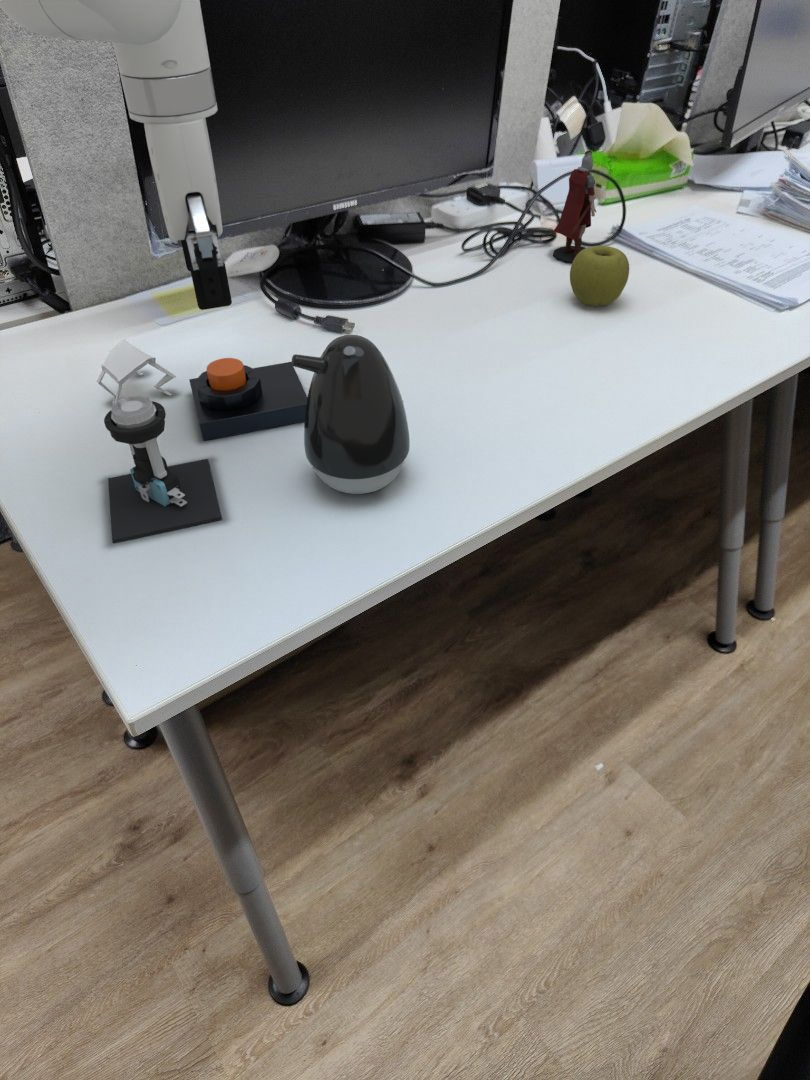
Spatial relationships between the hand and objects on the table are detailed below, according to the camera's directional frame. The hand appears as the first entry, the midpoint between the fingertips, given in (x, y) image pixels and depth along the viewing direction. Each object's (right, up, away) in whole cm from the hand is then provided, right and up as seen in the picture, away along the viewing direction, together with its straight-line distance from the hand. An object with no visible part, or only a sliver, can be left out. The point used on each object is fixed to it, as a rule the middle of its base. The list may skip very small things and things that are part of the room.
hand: (208, 286), depth 77 cm
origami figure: (-12, -8, +13) cm, 20 cm away
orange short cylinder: (0, -8, +7) cm, 11 cm away
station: (+2, -10, +10) cm, 15 cm away
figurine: (+46, +19, +42) cm, 65 cm away
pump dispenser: (+15, -19, 0) cm, 25 cm away
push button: (-4, -21, -2) cm, 22 cm away
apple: (+46, +7, +29) cm, 55 cm away
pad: (-4, -22, -2) cm, 22 cm away
